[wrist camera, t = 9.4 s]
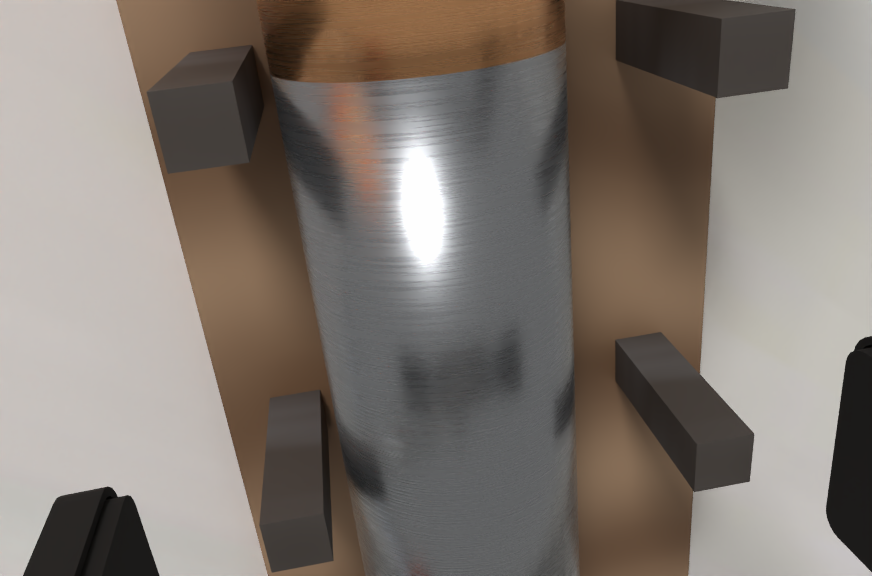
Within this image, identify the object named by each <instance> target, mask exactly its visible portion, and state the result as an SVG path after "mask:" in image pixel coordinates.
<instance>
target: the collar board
mask: <svg viewBox="0 0 872 576" xmlns="http://www.w3.org/2000/svg"><path fill="white" fill-rule="evenodd" d="M116 1H117V5H118V9H119V13H120V16H121V20H122V24H123V28H124V31H125V35H126V39H127V43H128V47H129V50H130V54H131V58H132V62H133V66H134V69H135V73H136V77H137V81H138V85H139V88H140V92H141V96H142V100H143V104H144V107H145V111H146V115H147V119H148V122H149V126H150V130H151V134H152V138H153V141H154V145H155V149H156V153H157V157H158V160H159V164H160V168H161V172H162V176H163V179H164V183H165V187H166V191H167V194H168V198H169V202H170V206H171V210H172V213H173V217H174V221H175V225H176V229H177V232H178V236H179V240H180V244H181V248H182V251H183V255H184V259H185V263H186V266H187V270H188V274H189V278H190V282H191V285H192V289H193V293H194V297H195V301H196V304H197V308H198V312H199V316H200V320H201V323H202V327H203V331H204V335H205V339H206V342H207V346H208V350H209V354H210V357H211V361H212V365H213V369H214V373H215V376H216V380H217V384H218V388H219V392H220V395H221V399H222V403H223V407H224V411H225V414H226V418H227V422H228V426H229V429H230V433H231V437H232V441H233V445H234V448H235V452H236V456H237V460H238V464H239V467H240V471H241V475H242V479H243V483H244V486H245V490H246V494H247V498H248V502H249V505H250V509H251V513H252V517H253V520H254V524H255V528H256V532H257V536H258V539H259V543H260V547H261V551H262V555H263V558H264V562H265V566H266V570H267V574H268V576H365V572H364V566H363V561H362V556H361V550H360V545H359V540H358V535H357V529H356V524H355V519H354V514H353V508H352V503H351V498H350V492H349V487H348V482H347V477H346V471H345V466H344V461H343V456H342V450H341V445H340V440H339V434H338V429H337V424H336V419H335V413H334V408H333V403H332V398H331V392H330V387H329V382H328V376H327V371H326V366H325V361H324V355H323V350H322V345H321V340H320V334H319V329H318V324H317V318H316V313H315V308H314V303H313V297H312V292H311V287H310V282H309V276H308V271H307V266H306V260H305V255H304V250H303V245H302V239H301V234H300V229H299V224H298V218H297V213H296V208H295V202H294V197H293V192H292V187H291V181H290V176H289V171H288V166H287V160H286V155H285V150H284V144H283V139H282V134H281V129H280V123H279V118H278V113H277V107H276V102H275V97H274V92H273V86H272V81H271V76H270V71H269V65H268V60H267V55H266V49H265V44H264V39H263V34H262V28H261V23H260V18H259V13H258V7H257V2H256V0H116ZM795 10H796V9H789V8H781V7H773V6H766V5H758V4H751V3H743V2H735V1H728V0H565V27H566V66H567V105H568V143H569V182H570V221H571V260H572V298H573V337H574V376H575V415H576V453H577V492H578V531H579V570H580V576H688V570H689V553H690V535H691V518H692V501H693V491H694V492H697V491H702V490H707V489H713V488H718V487H723V486H728V485H734V484H739V483H744V482H749V481H750V473H751V462H752V452H753V442H754V433H753V432H752V431H751V430H750V429H749V427H748V426H747V425H746V424H745V423H744V422H743V421H742V420H741V419H740V418H739V417H738V415H737V414H736V413H735V412H734V411H733V410H732V409H731V408H730V407H729V406H728V405H727V403H726V402H725V401H724V400H723V399H722V398H721V397H720V396H719V395H718V394H717V393H716V391H715V390H714V389H713V388H712V387H711V386H710V385H709V384H708V383H707V382H706V381H705V379H704V378H703V377H702V376H701V375H700V361H701V343H702V326H703V308H704V291H705V273H706V256H707V238H708V221H709V204H710V186H711V169H712V151H713V134H714V116H715V99H716V98H721V97H728V96H735V95H743V94H750V93H757V92H764V91H772V90H779V89H786V88H788V82H789V72H790V61H791V51H792V41H793V30H794V20H795Z"/></svg>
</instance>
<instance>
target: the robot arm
mask: <svg viewBox="0 0 872 576" xmlns="http://www.w3.org/2000/svg"><path fill="white" fill-rule="evenodd" d="M826 514H827V519H828V522H829V524H830V527H831V528H832V530H833V532H834V533H835V534H836V536H837V537H838V538H839V539H840V540H841V541H842V542H843V543H844V544H845V545H846V546H847V547H848V548H849V549H850V550H851V551H852V552H853V553H854V554H855V555H856V556H857V558H858V559H859V560H860V561H861V562H862V563H863V564H864V565H865V566H866V567H867V568H868V569H869V570H870V571H871V572H872V336H870V337H865V338H863V339H862V340H860V341H859V342H858V343H857V345H856V346H855V350H854V351H853V352H851V353H850V354H849V355H848V357H847V360H846V365H845V372H844V380H843V387H842V394H841V402H840V409H839V416H838V424H837V431H836V439H835V446H834V453H833V461H832V468H831V476H830V483H829V490H828V498H827V505H826ZM23 576H159V573H158V570H157V567H156V564H155V561H154V558H153V555H152V552H151V550H150V547H149V544H148V541H147V538H146V535H145V532H144V529H143V526H142V523H141V520H140V517H139V514H138V511H137V508H136V505H135V503H134V500H133V499H132V497H131V496H128V495H127V496H122V497H117V494H116V492H115V491H114V490H113V489H112V488H110V487H104V488H99V489H94V490H89V491H84V492H79V493H74V494H68V495H63V496H60V497H58V498H57V499H56V501H55V502H54V504H53V506H52V508H51V511H50V513H49V515H48V518H47V520H46V523H45V525H44V527H43V530H42V532H41V534H40V537H39V539H38V541H37V544H36V546H35V549H34V551H33V553H32V556H31V558H30V560H29V563H28V565H27V567H26V570H25V572H24V575H23Z"/></svg>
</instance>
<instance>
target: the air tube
mask: <svg viewBox="0 0 872 576" xmlns="http://www.w3.org/2000/svg"><path fill="white" fill-rule="evenodd" d="M256 2H257V7H258V13H259V18H260V23H261V28H262V34H263V39H264V44H265V49H266V55H267V60H268V65H269V71H270V76H271V81H272V86H273V92H274V97H275V102H276V107H277V113H278V118H279V123H280V129H281V134H282V139H283V144H284V150H285V155H286V160H287V166H288V171H289V176H290V181H291V187H292V192H293V197H294V202H295V208H296V213H297V218H298V224H299V229H300V234H301V239H302V245H303V250H304V255H305V260H306V266H307V271H308V276H309V282H310V287H311V292H312V297H313V303H314V308H315V313H316V318H317V324H318V329H319V334H320V340H321V345H322V350H323V355H324V361H325V366H326V371H327V376H328V382H329V387H330V392H331V398H332V403H333V408H334V413H335V419H336V424H337V429H338V434H339V440H340V445H341V450H342V456H343V461H344V466H345V471H346V477H347V482H348V487H349V492H350V498H351V503H352V508H353V514H354V519H355V524H356V529H357V535H358V540H359V545H360V550H361V556H362V561H363V566H364V572H365V576H580V570H579V531H578V492H577V453H576V415H575V376H574V337H573V298H572V260H571V221H570V182H569V143H568V105H567V66H566V27H565V0H256Z"/></svg>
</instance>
